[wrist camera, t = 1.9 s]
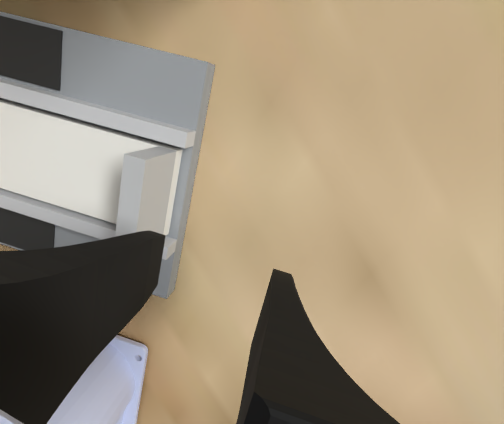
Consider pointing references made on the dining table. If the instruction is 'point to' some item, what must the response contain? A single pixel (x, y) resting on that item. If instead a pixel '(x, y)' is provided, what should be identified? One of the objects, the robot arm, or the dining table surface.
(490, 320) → the dining table surface
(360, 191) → the dining table surface
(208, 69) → the track
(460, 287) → the dining table surface
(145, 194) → the sled
